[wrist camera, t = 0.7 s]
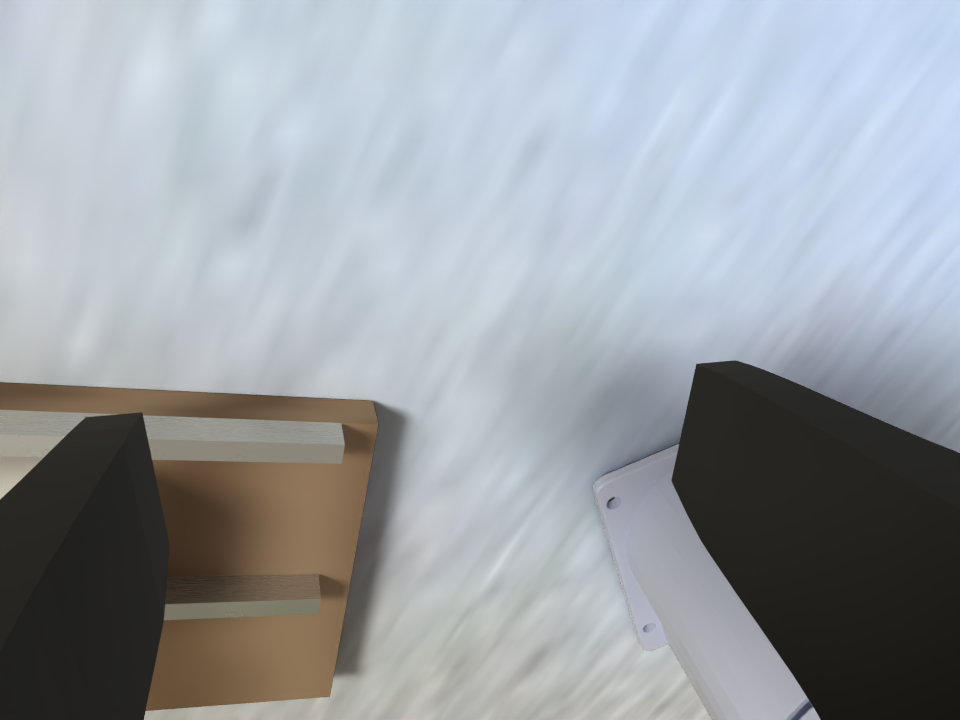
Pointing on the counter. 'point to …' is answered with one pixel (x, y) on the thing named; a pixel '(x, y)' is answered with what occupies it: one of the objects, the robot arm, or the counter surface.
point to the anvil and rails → (206, 443)
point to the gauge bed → (245, 540)
